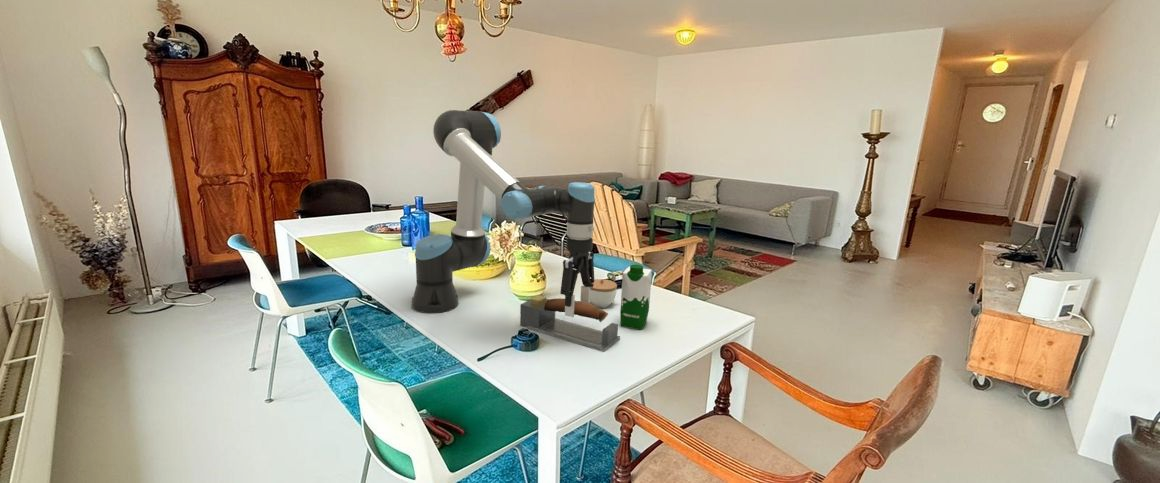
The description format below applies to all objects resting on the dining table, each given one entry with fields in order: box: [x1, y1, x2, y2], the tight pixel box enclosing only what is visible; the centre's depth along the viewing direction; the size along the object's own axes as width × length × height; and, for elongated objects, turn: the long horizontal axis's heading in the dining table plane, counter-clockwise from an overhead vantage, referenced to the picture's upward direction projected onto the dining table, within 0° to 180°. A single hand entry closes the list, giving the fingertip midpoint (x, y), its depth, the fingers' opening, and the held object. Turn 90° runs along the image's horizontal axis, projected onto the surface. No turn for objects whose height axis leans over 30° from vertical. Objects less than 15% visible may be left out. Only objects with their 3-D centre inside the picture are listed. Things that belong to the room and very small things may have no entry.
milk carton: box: [619, 264, 652, 331], centre depth 152 cm, size 9×9×20 cm
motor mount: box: [519, 294, 621, 352], centre depth 145 cm, size 31×10×9 cm, turn 59°
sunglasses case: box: [544, 297, 609, 323], centre depth 143 cm, size 18×7×7 cm
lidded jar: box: [589, 278, 618, 309], centre depth 169 cm, size 11×11×9 cm
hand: (577, 311), depth 143 cm, fingers closed on sunglasses case, 8 cm apart
